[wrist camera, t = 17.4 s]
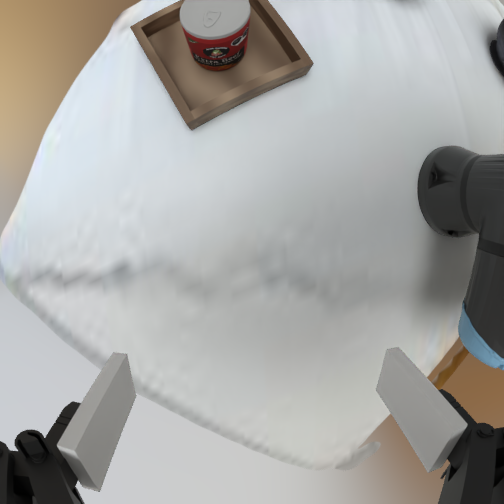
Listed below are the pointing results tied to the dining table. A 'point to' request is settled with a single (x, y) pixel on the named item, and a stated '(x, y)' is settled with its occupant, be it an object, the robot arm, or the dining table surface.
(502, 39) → the pitcher
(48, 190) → the dining table surface
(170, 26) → the wooden tray
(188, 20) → the canned food
